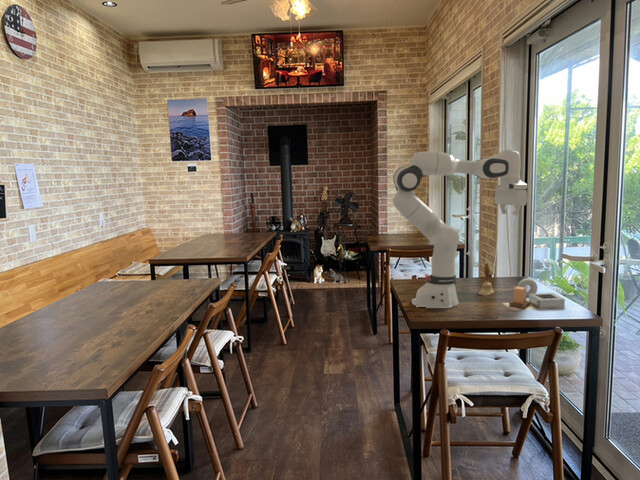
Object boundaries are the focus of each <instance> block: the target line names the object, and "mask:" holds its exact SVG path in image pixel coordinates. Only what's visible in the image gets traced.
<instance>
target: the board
mask: <svg viewBox="0 0 640 480" xmlns="http://www.w3.org/2000/svg"><path fill="white" fill-rule="evenodd" d="M501 304H502V305H503V306H505V307H506V308H508V309H509V310H511V311H512V312H513V311H529V310H531V311H533V310H535V311H536V310H540V309H539V308H537V307H536V306H534V305H532V304H531V303H530V306H529V307H527V308H525V309H521V308H515V307H509V302H502V303H501ZM559 309H561V310H562V309H563V308H551V309H550V310H559Z"/></svg>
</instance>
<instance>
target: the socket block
mask: <svg viewBox="0 0 640 480" xmlns="http://www.w3.org/2000/svg"><path fill="white" fill-rule="evenodd" d="M528 301H530V303H531V304H532V305H534V306H536V307H537V308H539V309H538V310H552V309H551V308H562V309H566V307H565V306H566V305H565V301H566V299H565V298H564V297H562V296H559V295H557V294H555V293H553V292H543V293H540V292H539V293H536V294H529V296H528Z"/></svg>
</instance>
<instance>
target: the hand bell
mask: <svg viewBox="0 0 640 480" xmlns="http://www.w3.org/2000/svg"><path fill="white" fill-rule="evenodd" d="M483 273H484V282H483V283H482V285H481V289H480V290H479V291H478V295H480V296H483V297H484V296H485V297H486V296H488V295H492V294H493V293H495V291H494V290H493V287H492V283H491V282H490V280H489V275H490V274H489V273H490V267H489V263H485V264H484V267H483Z"/></svg>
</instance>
